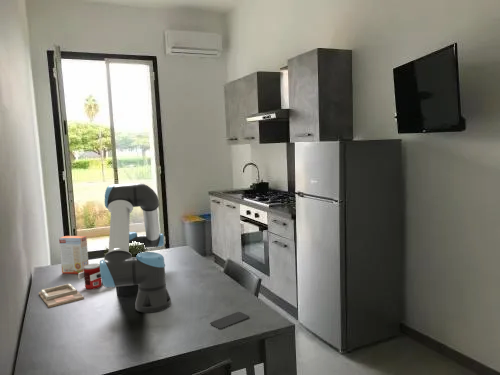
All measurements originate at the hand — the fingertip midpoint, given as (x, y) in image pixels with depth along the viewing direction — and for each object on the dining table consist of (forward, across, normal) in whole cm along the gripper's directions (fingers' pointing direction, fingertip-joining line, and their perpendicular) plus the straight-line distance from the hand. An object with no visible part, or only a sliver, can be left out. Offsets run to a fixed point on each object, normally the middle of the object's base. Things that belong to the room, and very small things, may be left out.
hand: (84, 277), depth 195 cm
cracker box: (-19, +30, -7) cm, 36 cm away
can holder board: (+11, +4, -6) cm, 13 cm away
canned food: (-5, 0, -7) cm, 8 cm away
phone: (+4, -84, -7) cm, 85 cm away
